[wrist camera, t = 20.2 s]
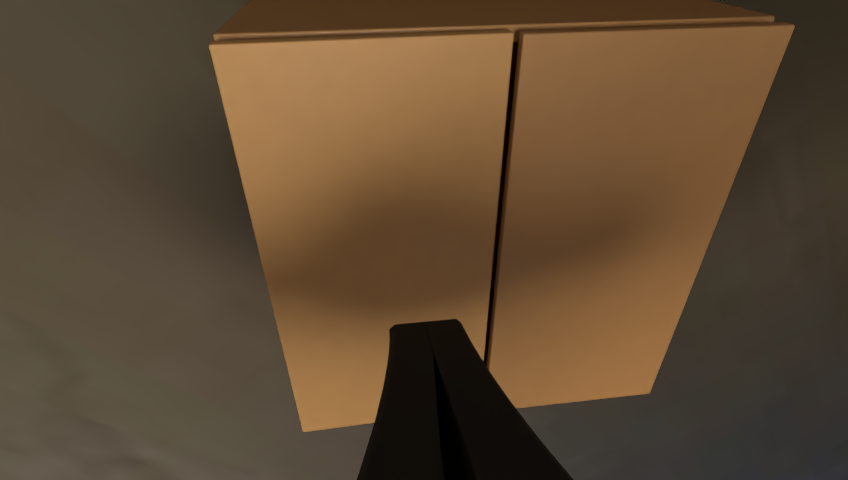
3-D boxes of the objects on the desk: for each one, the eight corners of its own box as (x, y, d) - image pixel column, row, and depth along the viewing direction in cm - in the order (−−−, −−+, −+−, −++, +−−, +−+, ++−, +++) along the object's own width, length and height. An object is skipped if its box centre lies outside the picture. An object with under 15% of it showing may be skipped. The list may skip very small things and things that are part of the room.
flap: (303, 424, 17) (302, 432, 17) (211, 40, 10) (207, 44, 10) (477, 400, 18) (479, 409, 17) (509, 29, 11) (514, 32, 10)
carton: (313, 305, 22) (300, 433, 17) (256, -7, 15) (202, 42, 10) (581, 281, 23) (651, 394, 18) (649, -16, 16) (800, 22, 11)
